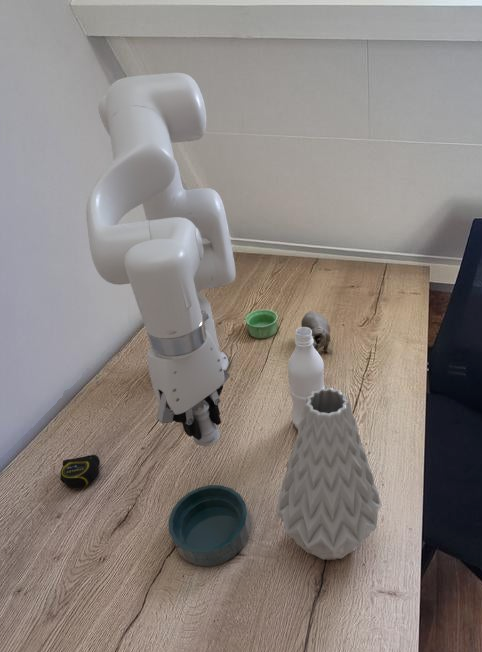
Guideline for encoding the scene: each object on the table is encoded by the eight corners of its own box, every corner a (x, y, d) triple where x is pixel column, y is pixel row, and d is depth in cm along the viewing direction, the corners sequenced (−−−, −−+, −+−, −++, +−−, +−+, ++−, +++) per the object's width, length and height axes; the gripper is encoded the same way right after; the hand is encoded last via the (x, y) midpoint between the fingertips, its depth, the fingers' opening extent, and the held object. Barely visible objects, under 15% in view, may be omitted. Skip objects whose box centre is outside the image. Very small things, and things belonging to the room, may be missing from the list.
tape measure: (103, 462, 95) (96, 450, 92) (98, 488, 90) (91, 477, 87) (69, 468, 94) (62, 456, 92) (62, 494, 89) (54, 483, 87)
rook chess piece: (208, 451, 73) (198, 416, 68) (188, 441, 75) (176, 406, 70) (226, 434, 76) (217, 399, 71) (205, 424, 78) (196, 390, 72)
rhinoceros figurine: (332, 320, 126) (327, 298, 111) (334, 368, 123) (329, 351, 108) (305, 322, 127) (296, 300, 112) (306, 369, 124) (297, 353, 110)
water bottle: (322, 439, 97) (319, 344, 80) (289, 435, 98) (280, 341, 81) (327, 416, 102) (326, 322, 85) (296, 412, 103) (288, 319, 86)
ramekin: (285, 327, 129) (283, 314, 126) (266, 343, 124) (264, 330, 121) (259, 319, 133) (258, 306, 130) (240, 334, 127) (238, 321, 124)
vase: (263, 531, 81) (236, 395, 59) (333, 483, 88) (333, 346, 66) (321, 604, 71) (316, 475, 49) (396, 544, 78) (421, 406, 56)
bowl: (160, 537, 81) (152, 522, 78) (215, 489, 89) (211, 473, 85) (209, 583, 75) (203, 568, 71) (265, 526, 82) (262, 510, 79)
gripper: (205, 300, 68) (225, 391, 80) (109, 354, 59) (148, 448, 71) (240, 316, 64) (255, 409, 77) (143, 376, 55) (179, 470, 68)
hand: (203, 427), depth 74 cm, fingers closed on rook chess piece, 3 cm apart
